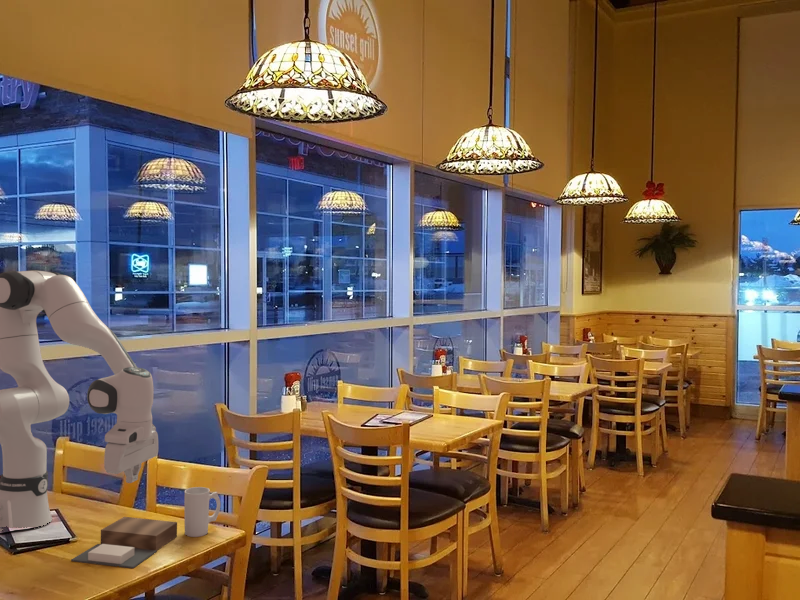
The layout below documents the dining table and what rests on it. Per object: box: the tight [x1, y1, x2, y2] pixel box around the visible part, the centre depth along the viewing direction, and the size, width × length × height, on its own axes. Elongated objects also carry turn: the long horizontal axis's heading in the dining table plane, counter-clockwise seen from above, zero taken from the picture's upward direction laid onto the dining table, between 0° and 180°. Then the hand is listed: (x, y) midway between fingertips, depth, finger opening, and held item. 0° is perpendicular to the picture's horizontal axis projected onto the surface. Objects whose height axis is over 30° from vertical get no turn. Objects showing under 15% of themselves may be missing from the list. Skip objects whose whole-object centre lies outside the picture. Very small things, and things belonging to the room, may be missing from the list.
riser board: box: [100, 516, 178, 551], centre depth 199 cm, size 16×11×4 cm
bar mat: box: [70, 543, 158, 569], centre depth 187 cm, size 17×11×1 cm, turn 79°
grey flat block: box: [88, 543, 134, 564], centre depth 185 cm, size 9×6×2 cm, turn 79°
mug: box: [183, 486, 221, 538], centre depth 206 cm, size 10×7×12 cm, turn 119°
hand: (131, 481), depth 195 cm, fingers closed
